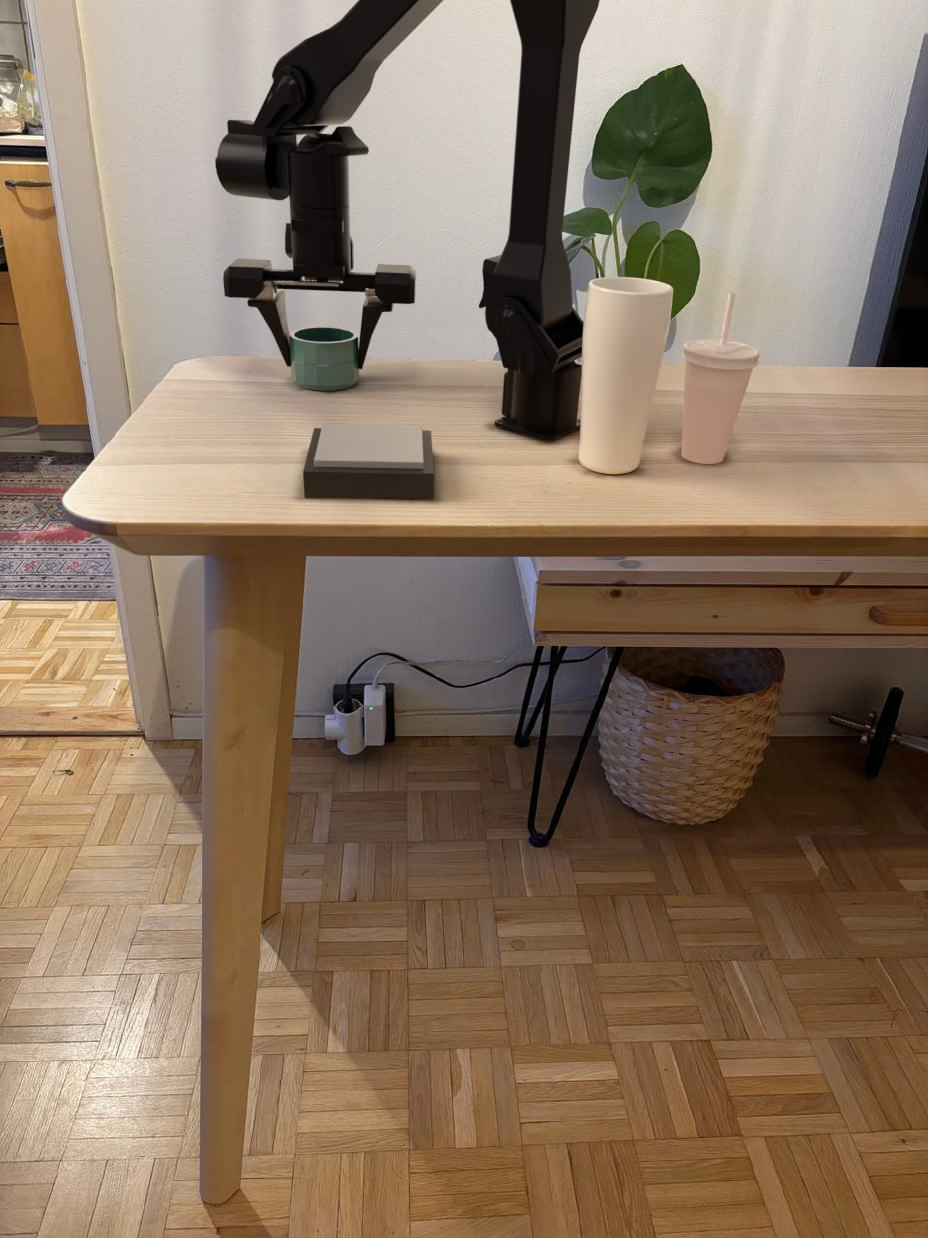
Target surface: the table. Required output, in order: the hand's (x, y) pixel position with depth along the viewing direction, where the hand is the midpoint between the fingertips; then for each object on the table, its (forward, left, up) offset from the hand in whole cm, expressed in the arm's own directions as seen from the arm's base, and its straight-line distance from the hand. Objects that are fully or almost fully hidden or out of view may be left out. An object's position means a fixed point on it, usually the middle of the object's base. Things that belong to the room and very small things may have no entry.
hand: (325, 366), depth 97 cm
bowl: (0, 0, -2) cm, 2 cm away
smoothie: (-39, -8, -2) cm, 40 cm away
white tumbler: (-34, 0, -2) cm, 35 cm away
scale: (-21, +16, -2) cm, 27 cm away
